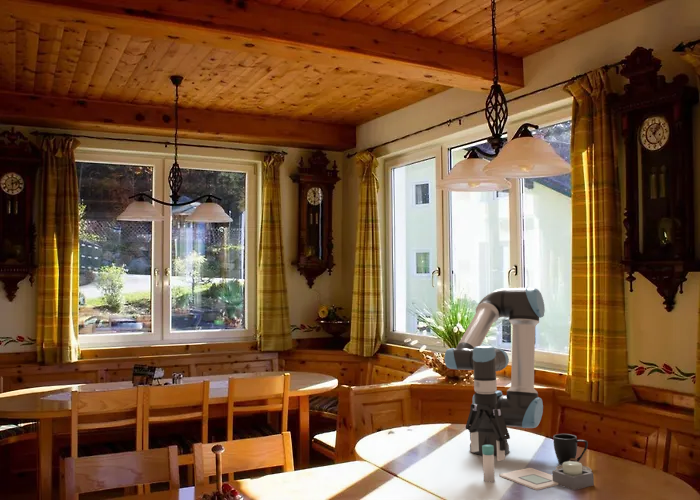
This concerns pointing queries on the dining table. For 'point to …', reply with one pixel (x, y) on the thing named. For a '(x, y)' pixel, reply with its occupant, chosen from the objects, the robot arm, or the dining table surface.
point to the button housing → (573, 479)
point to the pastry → (575, 461)
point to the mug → (567, 447)
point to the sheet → (531, 478)
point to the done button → (572, 468)
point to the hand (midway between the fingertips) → (487, 455)
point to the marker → (488, 463)
